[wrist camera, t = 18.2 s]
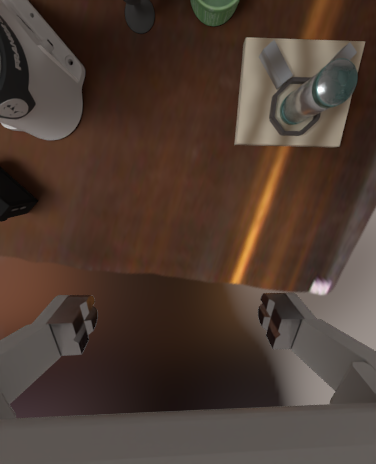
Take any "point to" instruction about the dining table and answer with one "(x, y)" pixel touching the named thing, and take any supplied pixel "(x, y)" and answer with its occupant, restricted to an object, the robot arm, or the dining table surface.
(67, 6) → the dining table surface
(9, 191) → the digital camera
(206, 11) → the ramekin
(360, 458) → the robot arm
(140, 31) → the sundae
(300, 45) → the board
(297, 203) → the dining table surface
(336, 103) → the teal-capped glass jar
